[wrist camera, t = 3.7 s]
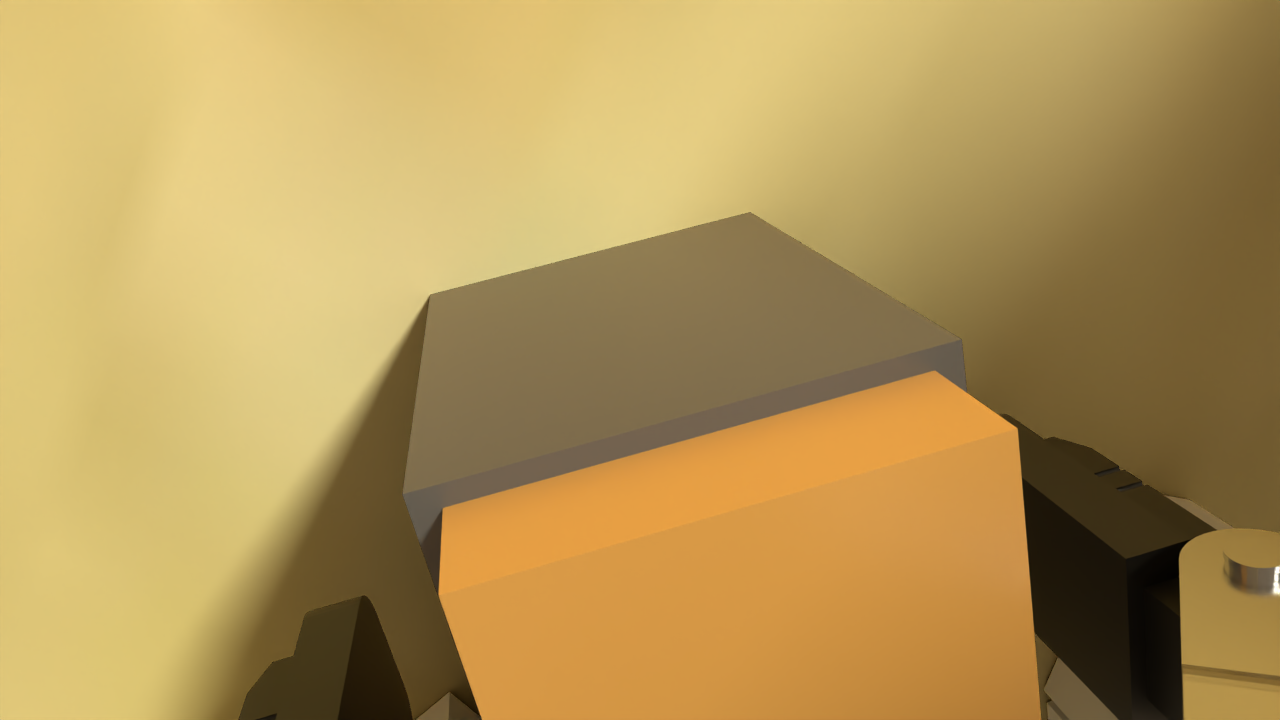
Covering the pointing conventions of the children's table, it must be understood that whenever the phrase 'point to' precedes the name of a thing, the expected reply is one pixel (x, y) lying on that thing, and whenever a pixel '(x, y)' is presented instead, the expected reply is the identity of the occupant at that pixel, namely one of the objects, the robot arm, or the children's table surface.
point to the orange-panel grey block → (717, 493)
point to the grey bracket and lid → (1074, 706)
